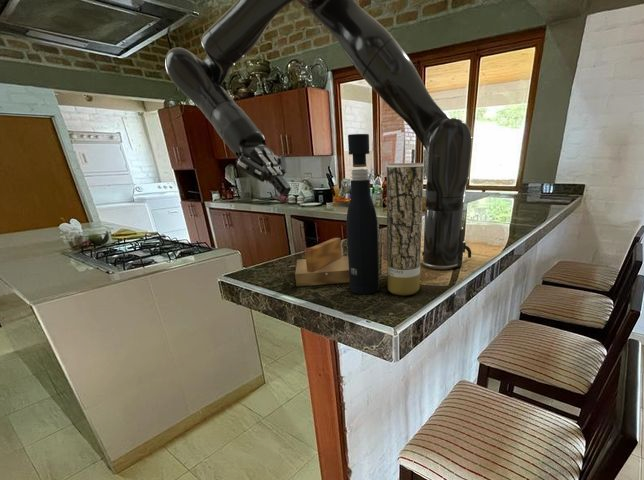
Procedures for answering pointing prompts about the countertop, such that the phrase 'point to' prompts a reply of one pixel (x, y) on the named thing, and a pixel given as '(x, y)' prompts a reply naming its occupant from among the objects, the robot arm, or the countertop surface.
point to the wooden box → (323, 273)
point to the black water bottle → (362, 223)
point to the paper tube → (404, 226)
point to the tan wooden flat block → (323, 254)
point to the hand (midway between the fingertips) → (287, 192)
